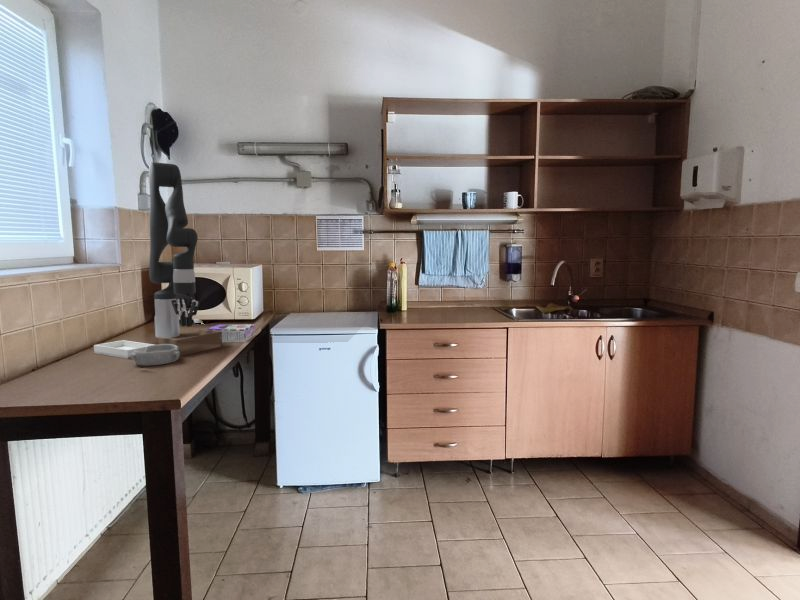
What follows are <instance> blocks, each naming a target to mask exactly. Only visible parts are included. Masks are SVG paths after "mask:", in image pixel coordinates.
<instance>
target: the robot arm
mask: <svg viewBox="0 0 800 600" xmlns="http://www.w3.org/2000/svg"><path fill="white" fill-rule="evenodd" d="M182 180H183V179H182V175H181V170H180V168H179V166H178V165H176V164H174V163H165V162H151V163H150V164H149V166H148V182H149V184H148V185H149V199H150V200H149V201H150V203H149V204H150V205H149V206H150V208H149V238H150V241H149V242H150V244H149V245H150V252H149V265H148V266H149V267H148V268H149V269H148V274H149V275H148V276H149V280H150V282H151V283H153V284H168V285H167V287H165V288H163V289H161V290H158V291H156V292H154V294H153V296H154V313H155V315H154V318H153V319H154V337H155V338H156V337H163V338H171V339H176V338H178V336H179V337H181V336H180V335H181V334H180V327H185V326H186V328H187V327H192V326H193V317H194V316H196V315H197V313H198V310H199V307H200V303H201V302H200V300H196V299H195V296H194V295H195V294H196V292H197V291H196V274H195V267H194V265H195V264H194V261H195V260H194V257H195V251H196V248H197V247H196V246H197V244H198V233H197V231H196V230H195V229H194V228H189V227H187V226H188V224H189V219H188V218H189V217H188V215H187V212H186V207H185V202H184V192H183V183H182V182H183V181H182ZM161 187H163V188H173V191H172V192H171V194H170V196H169V198H167V201H166V203H165V201H164V199H163V197H162V195H161V191H160V188H161ZM185 227H187V228H185ZM168 245H169V246H170V247H174V248H186V249H185V251H182V252H179V253H175V254H173V256H172V261H160V258H161V255H162V254H163V251H164V250H165V248H166V247H167V246H168Z"/></svg>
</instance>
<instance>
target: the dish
mask: <svg viewBox="0 0 800 600" xmlns="http://www.w3.org/2000/svg"><path fill="white" fill-rule="evenodd" d="M179 354H180V352H179V347H178V346H176V345H173V344H159V345H156V344H154V345H151V346H147V348H146V350H145V352H138V351H136V350H135V351H134V353H132V354H131V358H130V359H131V360H132V361H134V362H135V365H137V366H145V367H147V366H148V367H149V366H159V365H161V366H162V365H165V364H171V363H174V362H176V361H178V360H179V358H180V356H179Z"/></svg>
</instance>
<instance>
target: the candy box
mask: <svg viewBox="0 0 800 600" xmlns="http://www.w3.org/2000/svg"><path fill="white" fill-rule="evenodd" d="M205 330H212V331H221V332H222V343H247V342H248V341H249V340H250V339H253V337H255V336H256V324H255V323H254V324H251V323H249V324H247V323H246V324H245V323H243V324H225V323H224V324H223V323H222V324H220V323H219V324H215V325H213V326H211V327H209V328H206V329H205Z"/></svg>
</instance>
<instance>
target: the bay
mask: <svg viewBox="0 0 800 600" xmlns="http://www.w3.org/2000/svg"><path fill="white" fill-rule="evenodd" d="M198 331H199V335H194V336H188V337H183V338H163V337H155V343H156V344H155V345H159V344H173V345H176V346H178V347H179V352H180V354H179V357H182V356H185V355H186V356H187V355H190V354H194V353H199V352H203V351H208V350H212V349H217V348H221V347H223V342H222V332H221V331H212V330H206V329H202V328H201V329H199V330H198Z"/></svg>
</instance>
